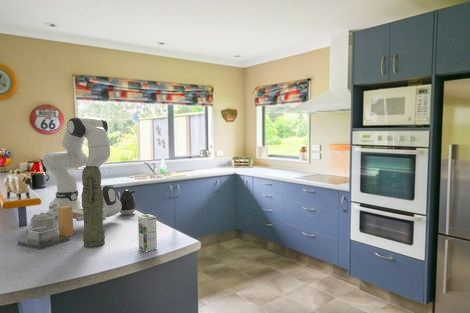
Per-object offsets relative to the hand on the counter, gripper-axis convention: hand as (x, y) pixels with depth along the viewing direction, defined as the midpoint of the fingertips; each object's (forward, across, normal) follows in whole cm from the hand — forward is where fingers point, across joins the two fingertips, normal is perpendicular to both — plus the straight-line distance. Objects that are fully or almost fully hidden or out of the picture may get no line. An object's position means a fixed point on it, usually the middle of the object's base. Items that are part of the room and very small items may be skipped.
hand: (70, 218), depth 160 cm
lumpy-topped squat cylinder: (+2, -19, +8) cm, 21 cm away
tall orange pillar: (+3, 0, +8) cm, 8 cm away
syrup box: (0, +50, +8) cm, 51 cm away
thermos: (+6, +24, +8) cm, 26 cm away
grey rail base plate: (+14, 0, +8) cm, 16 cm away
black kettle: (-42, -5, +8) cm, 43 cm away
